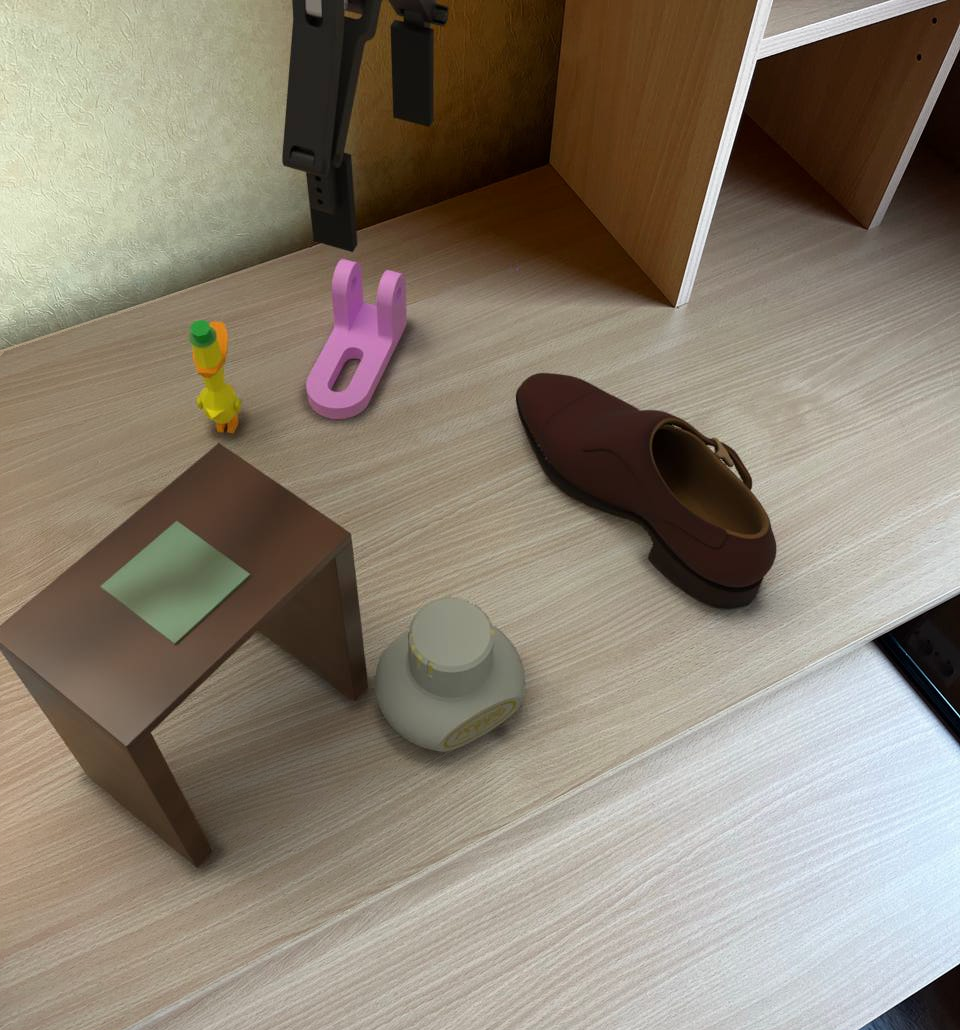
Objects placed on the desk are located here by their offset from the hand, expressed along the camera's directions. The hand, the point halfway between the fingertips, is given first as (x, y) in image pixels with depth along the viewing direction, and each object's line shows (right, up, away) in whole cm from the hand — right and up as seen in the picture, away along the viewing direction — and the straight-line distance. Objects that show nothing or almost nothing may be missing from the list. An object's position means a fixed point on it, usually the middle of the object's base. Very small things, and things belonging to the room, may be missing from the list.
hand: (376, 179), depth 73 cm
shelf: (-11, -37, +7) cm, 40 cm away
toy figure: (-15, -12, +22) cm, 29 cm away
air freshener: (+5, -35, +10) cm, 37 cm away
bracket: (-4, -6, +26) cm, 27 cm away
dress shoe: (+20, -19, +20) cm, 34 cm away
